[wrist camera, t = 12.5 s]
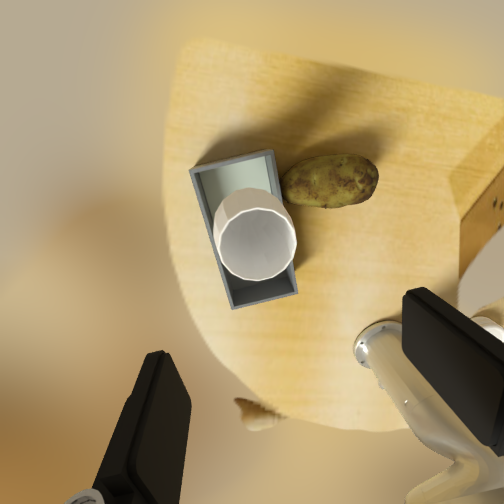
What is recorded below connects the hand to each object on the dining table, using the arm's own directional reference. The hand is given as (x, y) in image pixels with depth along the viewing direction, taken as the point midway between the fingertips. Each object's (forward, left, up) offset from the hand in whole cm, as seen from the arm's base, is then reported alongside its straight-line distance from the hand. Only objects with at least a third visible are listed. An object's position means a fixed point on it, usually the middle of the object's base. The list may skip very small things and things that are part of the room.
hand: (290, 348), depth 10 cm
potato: (0, -12, -33) cm, 35 cm away
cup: (0, 0, -32) cm, 32 cm away
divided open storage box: (-5, 0, -33) cm, 33 cm away
